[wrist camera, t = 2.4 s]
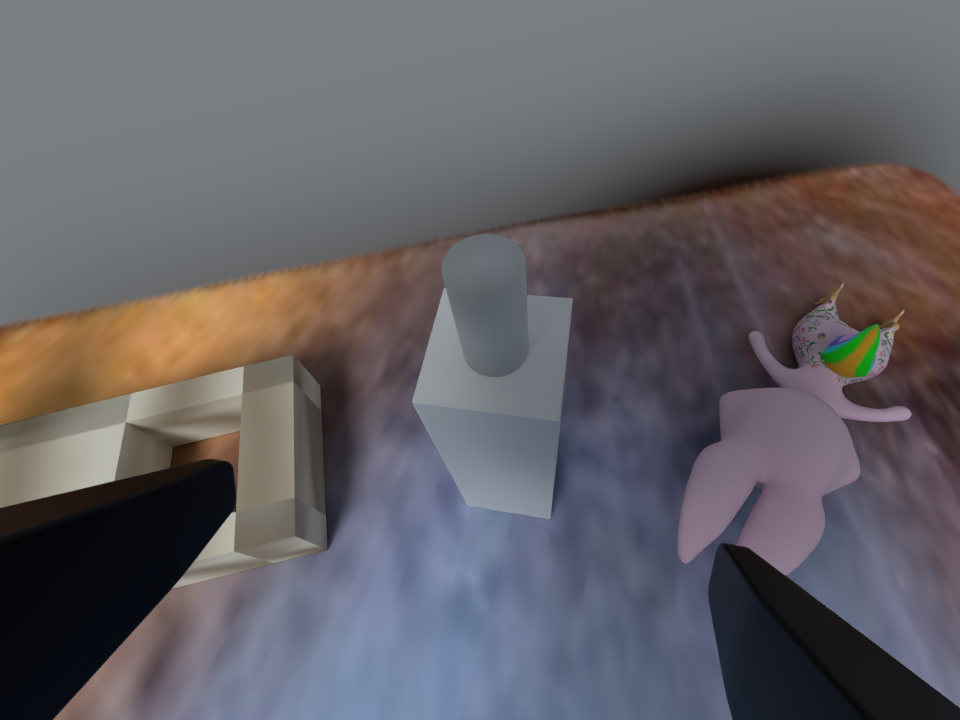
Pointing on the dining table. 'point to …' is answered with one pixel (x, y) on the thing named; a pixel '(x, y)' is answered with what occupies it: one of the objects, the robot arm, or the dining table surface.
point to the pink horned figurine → (787, 441)
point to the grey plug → (495, 378)
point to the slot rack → (185, 419)
